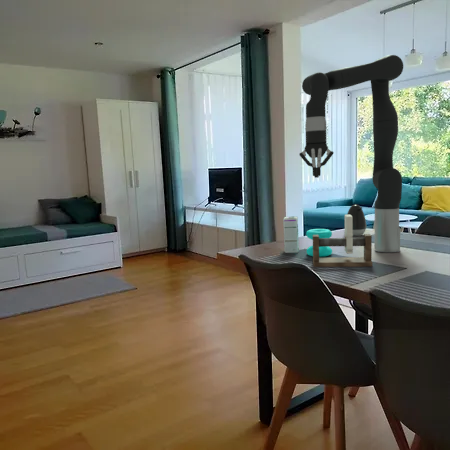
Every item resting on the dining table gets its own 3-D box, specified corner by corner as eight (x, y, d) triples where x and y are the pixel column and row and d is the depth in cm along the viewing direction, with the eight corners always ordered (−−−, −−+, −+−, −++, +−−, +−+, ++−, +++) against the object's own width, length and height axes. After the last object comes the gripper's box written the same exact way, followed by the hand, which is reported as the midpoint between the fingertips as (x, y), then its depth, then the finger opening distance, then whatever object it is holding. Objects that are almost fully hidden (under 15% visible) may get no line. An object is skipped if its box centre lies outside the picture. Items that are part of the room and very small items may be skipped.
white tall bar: (350, 249, 158) (350, 214, 156) (352, 253, 151) (352, 216, 149) (344, 249, 158) (344, 214, 156) (346, 253, 151) (346, 216, 150)
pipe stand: (368, 261, 158) (368, 232, 156) (372, 266, 150) (372, 236, 149) (312, 261, 161) (312, 233, 160) (313, 266, 153) (313, 237, 152)
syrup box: (298, 252, 178) (297, 217, 176) (283, 252, 179) (283, 218, 177) (298, 250, 183) (298, 216, 181) (284, 250, 184) (284, 216, 182)
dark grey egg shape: (351, 237, 207) (351, 206, 205) (340, 234, 217) (340, 204, 215) (370, 235, 209) (370, 204, 207) (359, 232, 219) (359, 203, 217)
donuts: (332, 228, 174) (331, 232, 165) (332, 252, 176) (331, 257, 166) (307, 228, 177) (305, 232, 168) (307, 252, 178) (305, 257, 169)
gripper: (333, 129, 162) (333, 176, 164) (297, 131, 164) (298, 177, 166) (335, 128, 154) (335, 177, 157) (297, 130, 156) (298, 178, 159)
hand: (316, 177), depth 161 cm, fingers closed
